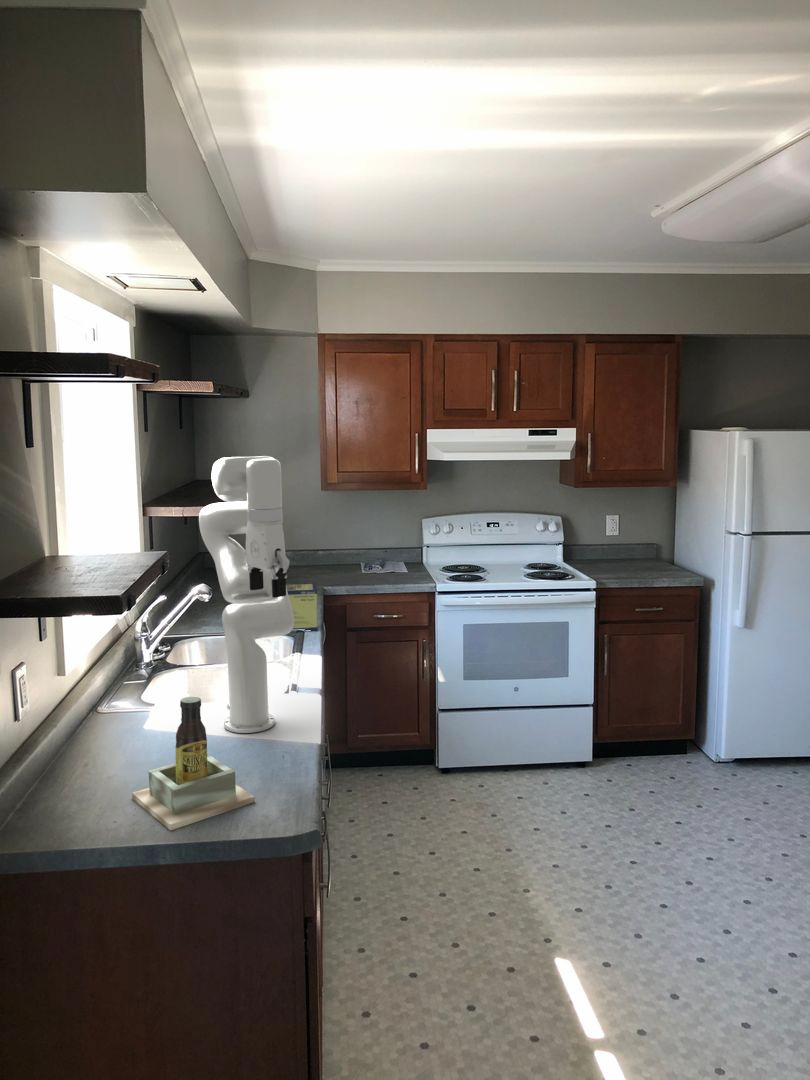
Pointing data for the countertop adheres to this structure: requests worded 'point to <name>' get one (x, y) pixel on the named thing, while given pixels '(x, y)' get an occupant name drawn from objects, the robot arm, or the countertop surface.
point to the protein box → (304, 606)
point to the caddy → (191, 795)
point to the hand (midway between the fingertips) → (267, 592)
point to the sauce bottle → (191, 743)
